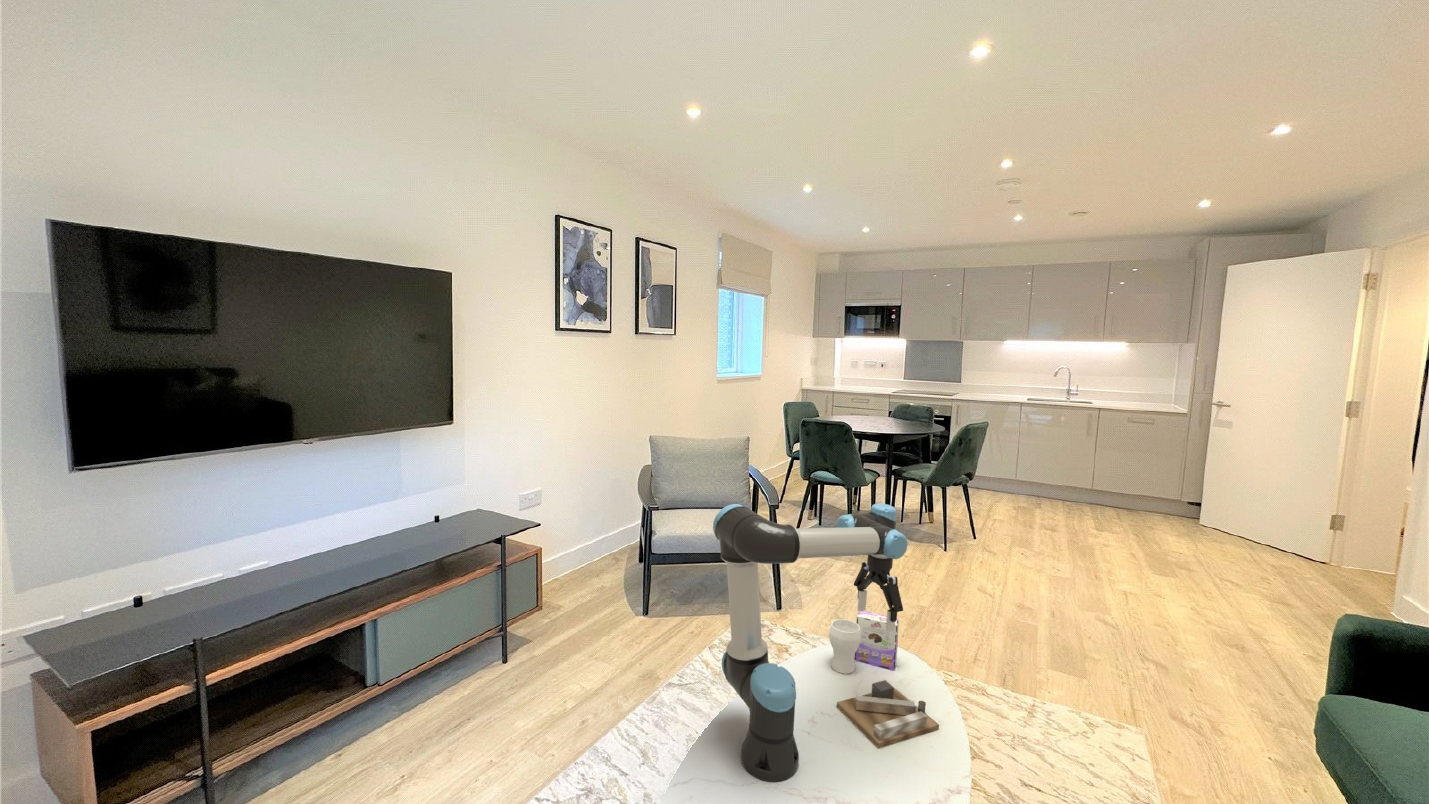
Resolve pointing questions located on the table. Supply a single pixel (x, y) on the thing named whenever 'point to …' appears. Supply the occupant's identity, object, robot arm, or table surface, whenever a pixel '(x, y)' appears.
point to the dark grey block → (882, 690)
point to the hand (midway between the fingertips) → (875, 620)
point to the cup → (844, 644)
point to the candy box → (877, 641)
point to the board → (880, 718)
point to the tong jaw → (885, 705)
